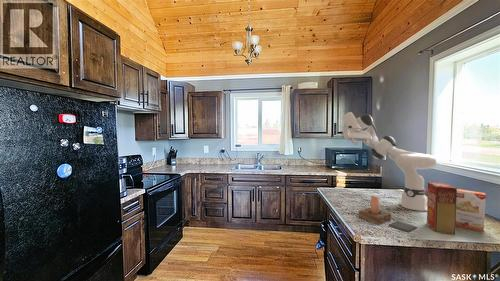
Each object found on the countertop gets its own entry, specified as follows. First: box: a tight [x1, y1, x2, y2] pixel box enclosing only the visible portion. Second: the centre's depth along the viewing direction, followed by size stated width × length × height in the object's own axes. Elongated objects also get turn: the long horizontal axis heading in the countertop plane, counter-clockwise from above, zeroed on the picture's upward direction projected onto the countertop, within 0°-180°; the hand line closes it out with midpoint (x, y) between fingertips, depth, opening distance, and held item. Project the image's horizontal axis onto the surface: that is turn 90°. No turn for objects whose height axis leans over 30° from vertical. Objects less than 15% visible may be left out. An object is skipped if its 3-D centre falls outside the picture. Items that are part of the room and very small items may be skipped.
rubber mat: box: [388, 220, 418, 233], centre depth 126 cm, size 10×10×1 cm
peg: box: [370, 195, 380, 215], centre depth 138 cm, size 4×4×14 cm
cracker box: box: [456, 188, 487, 233], centre depth 127 cm, size 14×6×21 cm, turn 45°
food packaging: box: [426, 181, 458, 236], centre depth 124 cm, size 13×9×25 cm
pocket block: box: [358, 207, 392, 225], centre depth 138 cm, size 13×13×4 cm
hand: (361, 144), depth 155 cm, fingers open, 8 cm apart
